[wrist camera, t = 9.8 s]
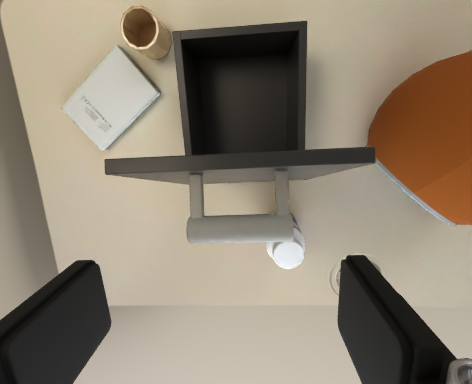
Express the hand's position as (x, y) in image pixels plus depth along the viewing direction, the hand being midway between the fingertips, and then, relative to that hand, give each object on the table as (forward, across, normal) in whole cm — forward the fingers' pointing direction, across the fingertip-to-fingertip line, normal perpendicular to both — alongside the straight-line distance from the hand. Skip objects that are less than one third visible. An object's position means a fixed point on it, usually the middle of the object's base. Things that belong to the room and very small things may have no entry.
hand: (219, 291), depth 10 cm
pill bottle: (+31, -6, +10) cm, 33 cm away
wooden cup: (+30, +11, -18) cm, 37 cm away
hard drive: (+31, +19, -10) cm, 37 cm away
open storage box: (+30, -1, -8) cm, 31 cm away
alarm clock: (+31, -26, -3) cm, 40 cm away
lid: (+12, -1, -3) cm, 13 cm away
